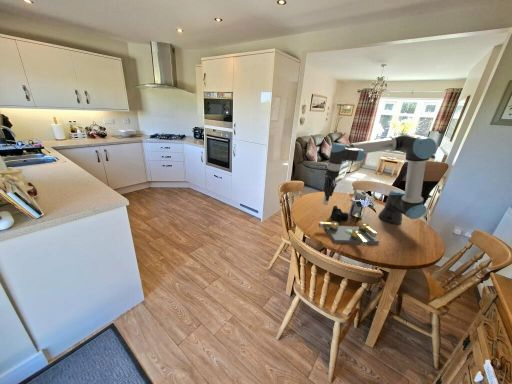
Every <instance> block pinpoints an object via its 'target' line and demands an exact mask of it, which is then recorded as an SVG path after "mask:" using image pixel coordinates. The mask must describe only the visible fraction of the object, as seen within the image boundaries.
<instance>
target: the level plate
mask: <svg viewBox="0 0 512 384" xmlns="http://www.w3.org/2000/svg"><path fill="white" fill-rule="evenodd" d="M324 229H325V231H326V232H327V234H328V235H329V237H330V238H331V240H332V241H333V243H334V244H335V243H336V244H337V243H339V244H360V242H359V241H358V240H356V239H353V238H352V237H351V233H352V230H354V229H355V230H359V226H355V225H354V226H351V225H350V226H347V225H346V226H345V225H339V227H338V230H337V231H333V230H331V229H330V228H324ZM359 231H360V232H361V236H362V237H363V238H364V239H365V240H366V241H367V244H366V245H379V243H380V240H379V239H377V236H376V237H372V236H371V235H370V234H368V233H367V232H363V231H361V230H359Z"/></svg>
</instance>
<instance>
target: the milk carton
mask: <svg viewBox="0 0 512 384" xmlns="http://www.w3.org/2000/svg"><path fill="white" fill-rule="evenodd" d="M366 194H367V193H366V192H365V191H364V190H362V191H361V190H359V189H355V193H354V196H353V199H354V198H355V200H360V199H361V200H364V201H366V199H367V195H366ZM363 208H364V206H363V207H358V206H357V204H356V203H355V201H353V200H352V203H351V207H350V210H349V217H352V216H353V215H354V214H356V213H359V214H360V216H362V211H363Z"/></svg>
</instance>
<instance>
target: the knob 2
mask: <svg viewBox="0 0 512 384" xmlns="http://www.w3.org/2000/svg"><path fill="white" fill-rule="evenodd" d="M358 227H359V230H361V231H363V232H367V233H368V234H370V235H371V236H372V237H376V238H377V235H378V232H376V231H375V230H374V229H373V228H371V227H370V225H369V224H368V223H366V222H360V223H359V226H358Z"/></svg>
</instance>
